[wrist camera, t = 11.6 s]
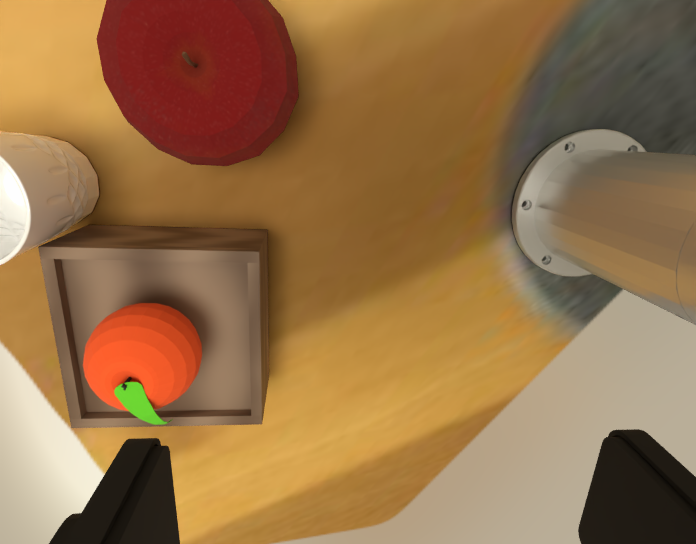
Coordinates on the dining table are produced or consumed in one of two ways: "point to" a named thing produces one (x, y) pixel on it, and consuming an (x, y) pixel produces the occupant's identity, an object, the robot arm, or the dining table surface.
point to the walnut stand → (171, 290)
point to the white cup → (41, 190)
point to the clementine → (142, 358)
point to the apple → (200, 74)
